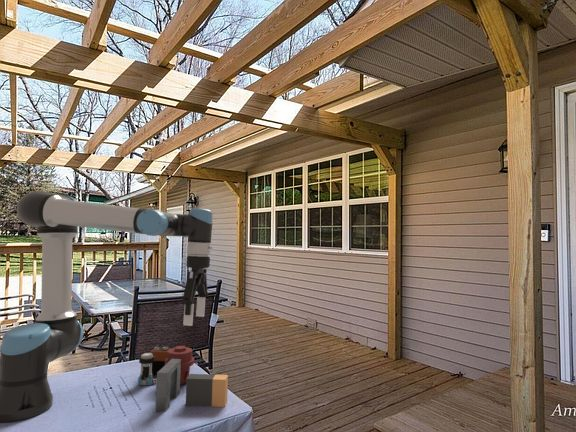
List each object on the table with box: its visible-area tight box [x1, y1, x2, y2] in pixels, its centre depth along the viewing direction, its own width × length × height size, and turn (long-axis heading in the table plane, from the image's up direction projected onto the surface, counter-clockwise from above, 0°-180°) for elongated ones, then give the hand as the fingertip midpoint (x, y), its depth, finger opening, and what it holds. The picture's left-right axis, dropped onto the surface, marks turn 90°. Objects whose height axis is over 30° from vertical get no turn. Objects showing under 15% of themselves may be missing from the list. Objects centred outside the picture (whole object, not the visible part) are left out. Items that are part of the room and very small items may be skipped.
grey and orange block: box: [185, 373, 229, 408], centre depth 114 cm, size 12×4×8 cm, turn 89°
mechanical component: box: [165, 345, 195, 386], centre depth 130 cm, size 12×10×10 cm
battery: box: [149, 346, 171, 377], centre depth 137 cm, size 4×7×10 cm, turn 88°
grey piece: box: [154, 359, 181, 413], centre depth 115 cm, size 3×13×11 cm, turn 179°
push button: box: [137, 352, 157, 386], centre depth 128 cm, size 7×5×10 cm
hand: (194, 320), depth 120 cm, fingers open, 13 cm apart
